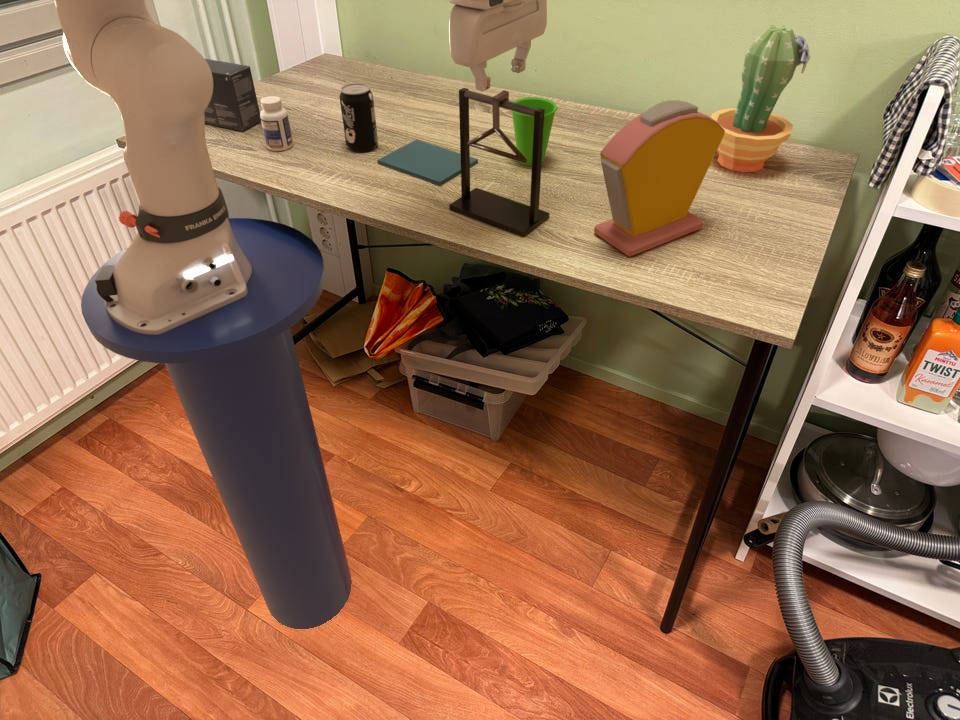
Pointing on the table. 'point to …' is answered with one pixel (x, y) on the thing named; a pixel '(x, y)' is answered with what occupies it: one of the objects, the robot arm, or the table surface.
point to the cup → (532, 126)
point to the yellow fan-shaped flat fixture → (656, 175)
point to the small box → (232, 97)
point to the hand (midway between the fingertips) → (500, 80)
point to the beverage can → (358, 117)
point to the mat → (426, 162)
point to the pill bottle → (275, 124)
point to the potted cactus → (760, 100)
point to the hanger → (498, 132)
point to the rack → (491, 205)
